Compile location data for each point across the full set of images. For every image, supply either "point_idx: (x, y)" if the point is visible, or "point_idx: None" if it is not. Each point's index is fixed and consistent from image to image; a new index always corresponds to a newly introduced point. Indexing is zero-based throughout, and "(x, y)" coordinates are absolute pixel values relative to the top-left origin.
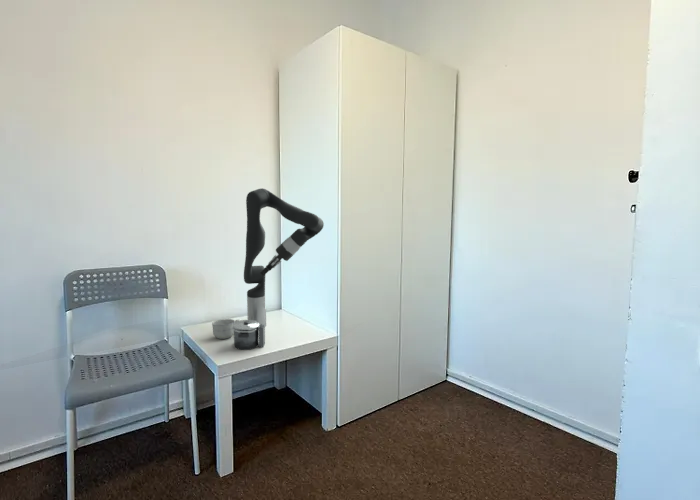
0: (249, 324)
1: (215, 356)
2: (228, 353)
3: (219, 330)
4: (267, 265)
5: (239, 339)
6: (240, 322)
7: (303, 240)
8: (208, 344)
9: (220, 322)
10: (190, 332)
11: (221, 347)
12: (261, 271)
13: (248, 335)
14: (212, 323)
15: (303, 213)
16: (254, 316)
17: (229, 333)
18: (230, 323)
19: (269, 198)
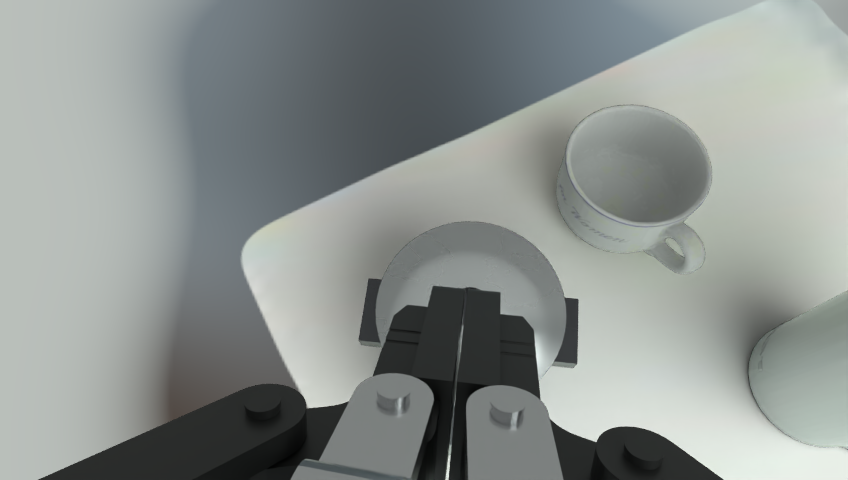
0: None
1: (332, 209)
2: (360, 264)
3: (561, 166)
4: (141, 435)
5: None
6: (498, 266)
7: None
8: (499, 152)
9: (686, 148)
10: (681, 43)
11: (450, 219)
12: (430, 302)
13: (373, 344)
14: (612, 107)
15: None
16: (798, 354)
17: (573, 228)
18: (596, 206)
19: None
